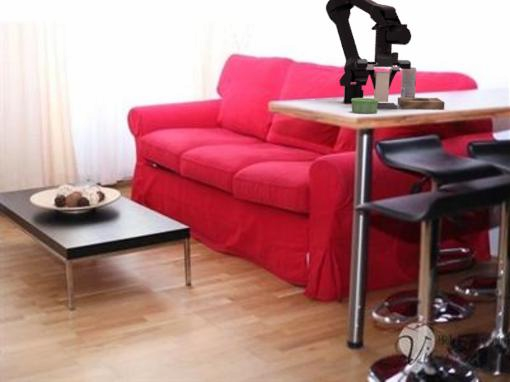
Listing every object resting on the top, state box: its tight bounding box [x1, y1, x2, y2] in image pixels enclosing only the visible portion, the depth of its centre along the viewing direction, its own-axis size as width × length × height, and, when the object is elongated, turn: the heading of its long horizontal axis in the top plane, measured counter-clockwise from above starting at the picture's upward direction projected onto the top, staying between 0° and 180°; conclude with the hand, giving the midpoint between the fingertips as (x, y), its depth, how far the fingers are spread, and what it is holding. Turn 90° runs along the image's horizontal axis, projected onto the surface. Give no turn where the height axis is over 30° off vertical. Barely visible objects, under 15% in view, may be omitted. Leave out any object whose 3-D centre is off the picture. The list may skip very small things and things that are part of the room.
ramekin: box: [351, 97, 379, 115], centre depth 253 cm, size 9×9×4 cm
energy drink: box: [400, 66, 417, 98], centre depth 291 cm, size 5×5×12 cm
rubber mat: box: [377, 102, 398, 110], centre depth 267 cm, size 10×10×1 cm
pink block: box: [373, 71, 390, 103], centre depth 266 cm, size 4×4×10 cm
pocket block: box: [397, 96, 446, 111], centre depth 268 cm, size 14×14×2 cm
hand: (381, 89), depth 266 cm, fingers closed on pink block, 4 cm apart
